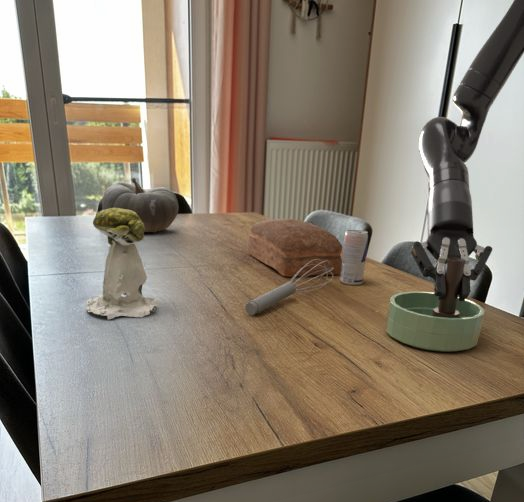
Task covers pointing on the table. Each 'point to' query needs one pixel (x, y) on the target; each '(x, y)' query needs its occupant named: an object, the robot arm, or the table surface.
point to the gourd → (143, 204)
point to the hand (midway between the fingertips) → (452, 297)
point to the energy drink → (354, 257)
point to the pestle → (451, 289)
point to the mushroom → (121, 266)
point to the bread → (294, 247)
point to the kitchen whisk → (279, 293)
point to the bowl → (433, 323)
